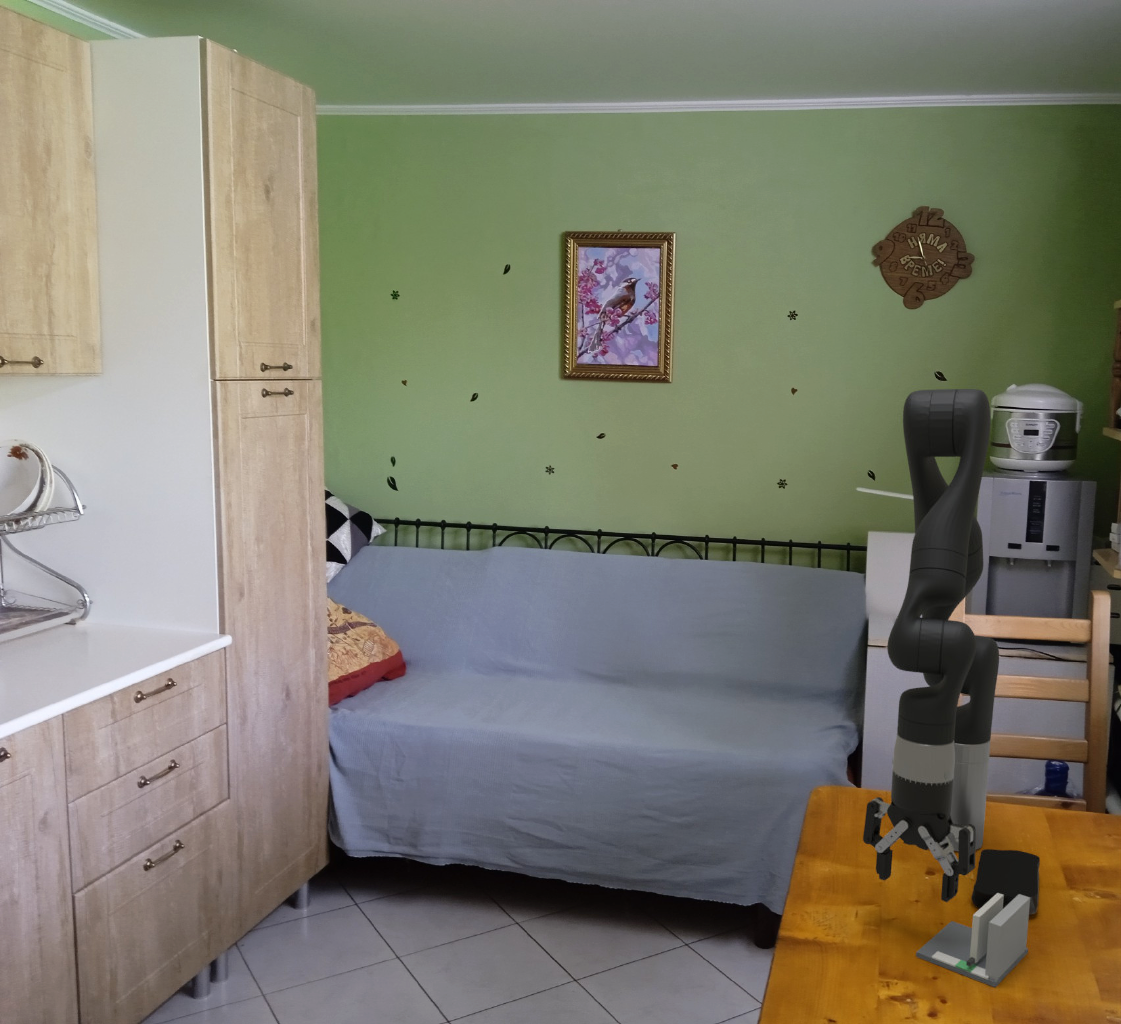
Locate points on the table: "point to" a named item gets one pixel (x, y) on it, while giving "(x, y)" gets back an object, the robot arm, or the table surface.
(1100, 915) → the table surface
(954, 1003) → the table surface
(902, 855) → the table surface
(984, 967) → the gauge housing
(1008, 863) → the black sponge
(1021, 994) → the table surface
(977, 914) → the panel
